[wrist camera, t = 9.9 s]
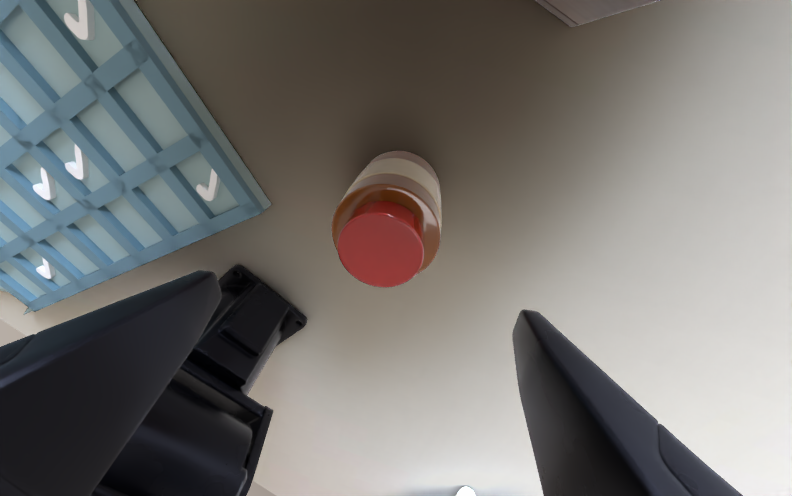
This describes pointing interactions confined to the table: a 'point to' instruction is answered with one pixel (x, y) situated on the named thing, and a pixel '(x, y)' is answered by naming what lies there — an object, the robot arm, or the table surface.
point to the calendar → (102, 150)
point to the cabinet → (589, 9)
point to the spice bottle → (389, 220)
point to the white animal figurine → (466, 492)
